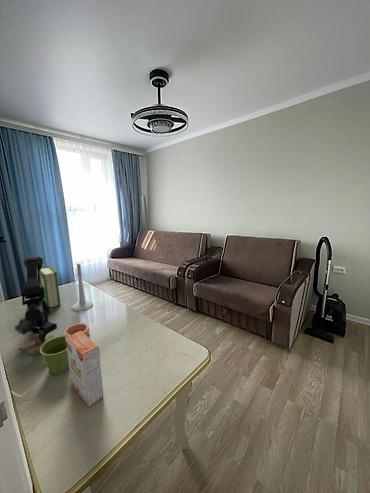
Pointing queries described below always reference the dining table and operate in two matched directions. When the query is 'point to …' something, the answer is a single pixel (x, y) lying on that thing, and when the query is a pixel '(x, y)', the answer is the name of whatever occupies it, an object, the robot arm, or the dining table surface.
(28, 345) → the lid
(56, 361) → the plant pot
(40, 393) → the dining table surface
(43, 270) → the hardback book
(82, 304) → the candlestick
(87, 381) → the cracker box
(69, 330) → the bowl
